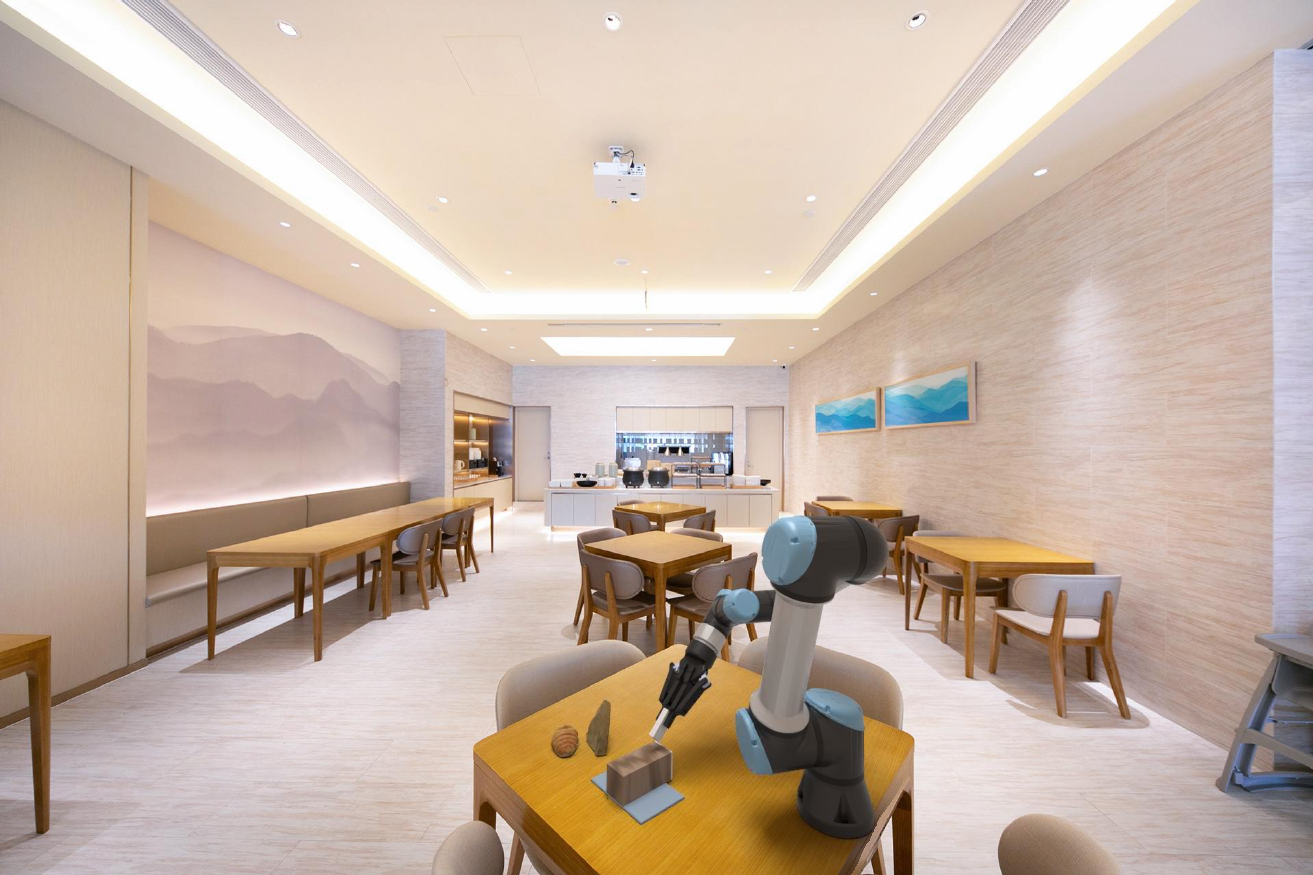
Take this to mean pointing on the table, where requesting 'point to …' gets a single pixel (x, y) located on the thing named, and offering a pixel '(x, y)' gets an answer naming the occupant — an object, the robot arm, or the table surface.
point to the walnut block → (639, 772)
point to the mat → (645, 800)
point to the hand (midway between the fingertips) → (654, 738)
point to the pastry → (565, 740)
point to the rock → (600, 729)
